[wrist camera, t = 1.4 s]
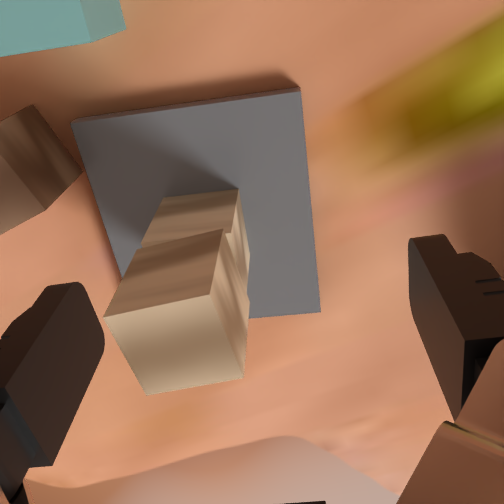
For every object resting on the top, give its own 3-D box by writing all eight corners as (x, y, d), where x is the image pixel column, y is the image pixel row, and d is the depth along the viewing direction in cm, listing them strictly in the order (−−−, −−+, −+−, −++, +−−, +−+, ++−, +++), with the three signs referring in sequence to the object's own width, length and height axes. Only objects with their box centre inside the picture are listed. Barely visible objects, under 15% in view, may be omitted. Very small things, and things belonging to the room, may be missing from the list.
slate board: (76, 118, 30) (69, 123, 29) (300, 86, 28) (300, 91, 27) (142, 318, 38) (138, 328, 37) (319, 302, 36) (320, 312, 35)
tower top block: (137, 249, 26) (102, 317, 21) (223, 228, 25) (209, 294, 20) (169, 319, 29) (146, 395, 23) (249, 302, 28) (243, 378, 23)
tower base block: (163, 197, 31) (140, 242, 26) (238, 188, 31) (231, 232, 25) (179, 262, 34) (162, 315, 28) (250, 255, 33) (245, 307, 28)
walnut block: (-25, 140, 31) (-85, 173, 26) (33, 103, 30) (-19, 131, 25) (27, 202, 33) (-20, 245, 28) (83, 171, 32) (45, 210, 27)
